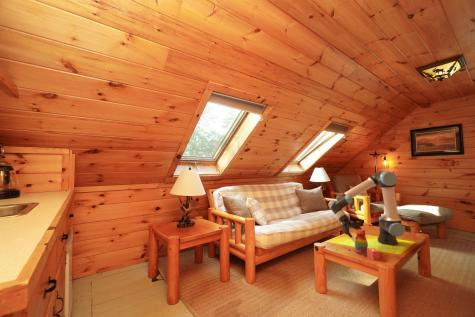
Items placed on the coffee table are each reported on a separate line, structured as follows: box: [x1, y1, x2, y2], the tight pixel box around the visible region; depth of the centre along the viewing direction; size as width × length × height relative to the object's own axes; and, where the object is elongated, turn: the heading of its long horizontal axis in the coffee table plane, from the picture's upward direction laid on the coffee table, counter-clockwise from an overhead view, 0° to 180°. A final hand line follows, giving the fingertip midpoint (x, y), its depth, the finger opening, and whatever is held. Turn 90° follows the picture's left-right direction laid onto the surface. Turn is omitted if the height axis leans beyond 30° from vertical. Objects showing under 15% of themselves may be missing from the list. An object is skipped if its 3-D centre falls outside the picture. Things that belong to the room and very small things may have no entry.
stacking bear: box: [353, 229, 369, 255], centre depth 178 cm, size 11×10×18 cm
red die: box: [366, 247, 381, 261], centre depth 167 cm, size 6×6×6 cm
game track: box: [351, 247, 382, 257], centre depth 178 cm, size 15×13×1 cm
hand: (359, 239), depth 178 cm, fingers open, 13 cm apart
